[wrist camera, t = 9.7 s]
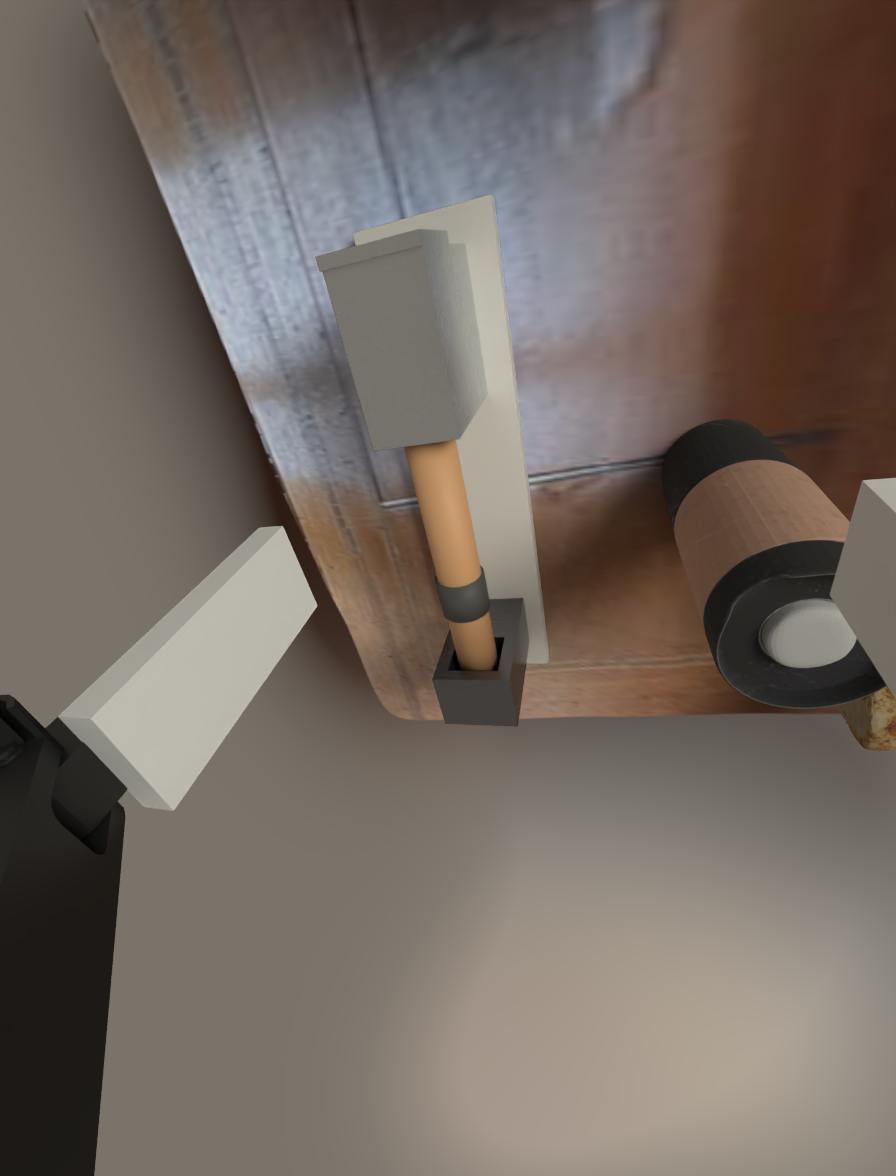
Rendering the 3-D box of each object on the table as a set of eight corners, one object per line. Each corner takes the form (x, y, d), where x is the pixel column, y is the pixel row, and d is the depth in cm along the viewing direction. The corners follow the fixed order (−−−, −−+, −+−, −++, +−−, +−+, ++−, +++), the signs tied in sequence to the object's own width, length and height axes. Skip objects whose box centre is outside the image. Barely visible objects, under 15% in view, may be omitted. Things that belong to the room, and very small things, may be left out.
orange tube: (404, 410, 32) (386, 427, 29) (458, 401, 30) (445, 418, 28) (466, 665, 43) (457, 695, 40) (506, 665, 42) (501, 696, 39)
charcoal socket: (459, 600, 46) (432, 679, 38) (523, 597, 45) (509, 680, 36) (469, 641, 49) (445, 723, 41) (529, 640, 47) (517, 726, 39)
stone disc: (865, 677, 43) (928, 775, 35) (814, 680, 45) (864, 776, 37) (875, 580, 38) (951, 669, 30) (818, 587, 40) (877, 675, 32)
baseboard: (361, 233, 33) (352, 233, 32) (494, 196, 30) (490, 194, 29) (463, 653, 52) (460, 663, 51) (549, 653, 50) (548, 663, 48)
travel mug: (760, 514, 37) (891, 718, 21) (652, 515, 39) (698, 704, 23) (786, 410, 33) (972, 570, 17) (663, 418, 35) (728, 568, 19)
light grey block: (385, 252, 32) (315, 257, 23) (463, 231, 30) (417, 229, 22) (420, 404, 37) (372, 452, 29) (488, 393, 35) (458, 441, 27)
